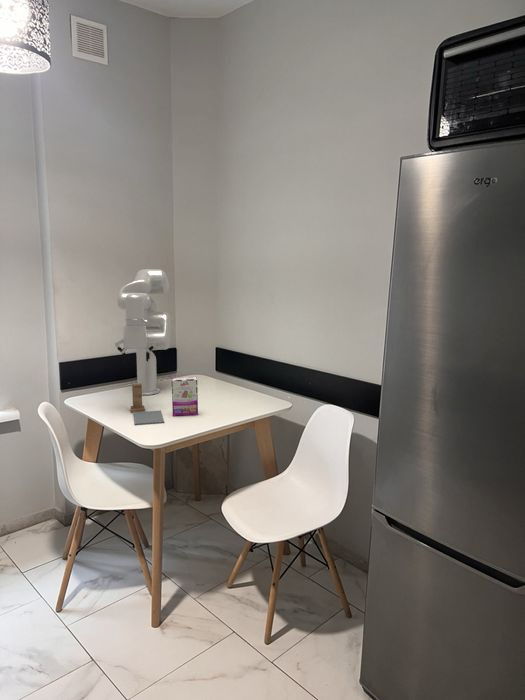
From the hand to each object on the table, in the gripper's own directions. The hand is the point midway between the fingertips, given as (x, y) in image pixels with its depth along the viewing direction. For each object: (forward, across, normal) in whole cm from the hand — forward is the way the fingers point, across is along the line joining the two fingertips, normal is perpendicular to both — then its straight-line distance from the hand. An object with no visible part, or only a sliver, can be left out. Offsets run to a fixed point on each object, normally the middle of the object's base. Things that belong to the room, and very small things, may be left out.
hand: (136, 361), depth 225 cm
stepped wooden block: (+23, 0, 0) cm, 23 cm away
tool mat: (+23, -4, +12) cm, 26 cm away
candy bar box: (+23, -20, +10) cm, 32 cm away
